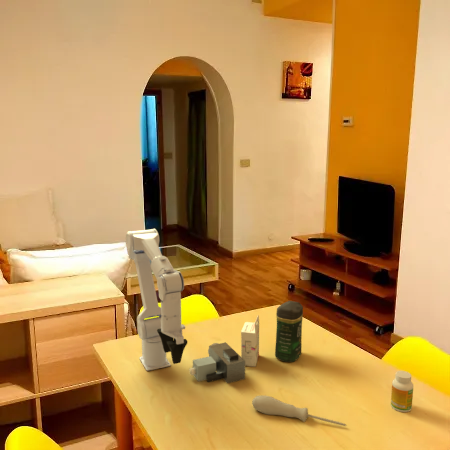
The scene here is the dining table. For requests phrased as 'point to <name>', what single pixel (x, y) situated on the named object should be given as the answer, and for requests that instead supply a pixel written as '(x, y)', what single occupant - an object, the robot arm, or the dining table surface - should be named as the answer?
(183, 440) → the dining table surface
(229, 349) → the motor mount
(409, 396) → the supplement bottle
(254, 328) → the ink cartridge box
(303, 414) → the screwdriver
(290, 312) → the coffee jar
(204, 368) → the grey block
